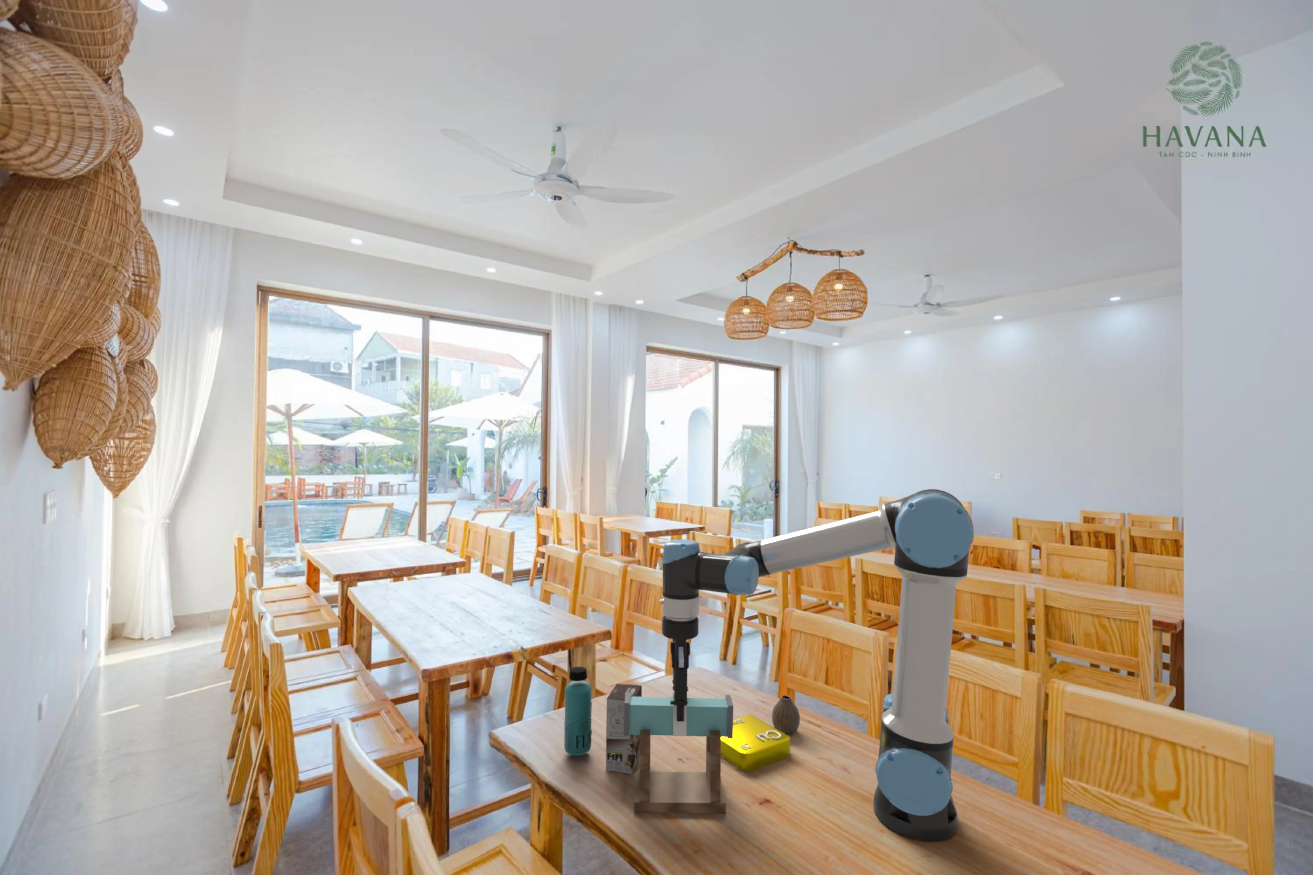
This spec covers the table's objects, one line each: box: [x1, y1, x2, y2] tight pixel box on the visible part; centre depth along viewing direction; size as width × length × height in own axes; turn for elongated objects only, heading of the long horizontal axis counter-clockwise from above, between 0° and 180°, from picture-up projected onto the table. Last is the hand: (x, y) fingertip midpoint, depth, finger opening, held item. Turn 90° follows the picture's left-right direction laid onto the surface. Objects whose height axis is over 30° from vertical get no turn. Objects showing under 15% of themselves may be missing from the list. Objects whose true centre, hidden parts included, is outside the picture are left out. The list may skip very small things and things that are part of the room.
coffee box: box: [605, 683, 643, 775], centre depth 137 cm, size 9×6×16 cm
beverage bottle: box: [563, 666, 593, 756], centre depth 140 cm, size 6×7×20 cm
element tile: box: [721, 714, 791, 772], centre depth 143 cm, size 15×15×5 cm
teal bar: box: [624, 692, 734, 739], centre depth 124 cm, size 22×5×7 cm, turn 90°
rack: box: [633, 729, 727, 814], centre depth 124 cm, size 18×11×15 cm, turn 90°
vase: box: [771, 695, 801, 737], centre depth 152 cm, size 7×7×9 cm
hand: (679, 729), depth 124 cm, fingers closed on teal bar, 4 cm apart
